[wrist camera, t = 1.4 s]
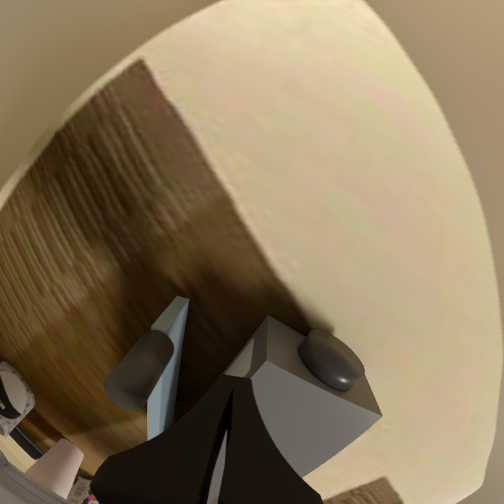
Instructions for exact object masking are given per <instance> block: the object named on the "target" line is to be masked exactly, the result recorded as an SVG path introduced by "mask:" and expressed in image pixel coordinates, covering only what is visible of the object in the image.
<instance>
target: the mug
mask: <svg viewBox="0 0 504 504" xmlns="http://www.w3.org/2000/svg"><path fill="white" fill-rule="evenodd" d="M35 404H36V401H35V397H34V394H33V392H32V390H31V388H30V387H29V385H28V384H27V382H26V381H25V379H24V378H23V377H22V376H21V374H20V373H19V372H18V371H17V370H16V369H15V368H14V367H13V366H12V365H10V364H9V363H7V362H4V361H2V362H1V363H0V435H1V436H3V437H6V436H7V435H8V434H9V433H10V432H11V431H12V430H13V429H14V428H15V427H16V426H17V424H18V423H19V422H20V421H21V420H22V419H23V418H24V417H25V416H26V415H27V414H28V413H29V412H30V411H31V409H32V408H33V407H34V406H35Z"/></svg>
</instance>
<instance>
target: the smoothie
mask: <svg viewBox="0 0 504 504" xmlns="http://www.w3.org/2000/svg"><path fill="white" fill-rule="evenodd" d="M83 457H84V455H83V453H82V451H81V450H80V449H79V448H78V447H77V446H76V445H74V444H73V443H71V442H70V441H68V440H66V439H63V438H62V439H60V440H59V441H58V442H57V443H56V444H55V445H54V446H53V447H51V448H50V449H49V450H48V451H47V452H46V453H45V454H44V455H43V456H42V457H41V458H40V459H39V460H38V461H37V462H36V463H35V464H34V465H32V466H31V467H30V468H29V469H28V470H27V471H26V472H25V474H26V475H28V476H29V477H30V478H32V479H33V480H35V481H36V482H38V483H39V484H41V485H43V486H44V487H46V488H47V489H49V490H51V491H52V492H54V493H56V494H57V495H59V496H61V497H63V498H64V499H67V497H68V494H69V491H70V489H71V486H72V484H73V481H74V479H75V476H76V474H77V471H78V469H79V467H80V464H81V462H82V460H83Z"/></svg>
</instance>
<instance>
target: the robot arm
mask: <svg viewBox="0 0 504 504" xmlns="http://www.w3.org/2000/svg"><path fill="white" fill-rule="evenodd" d="M226 430H227V437H226V451H225V465H224V471H223V476H222V481H221V486H220V492H219V497H215V496H212V495H210V494H209V491H210V486H211V481H212V476H213V472H214V469H215V465H216V462H217V459H218V456H219V453H220V450H221V447H222V443H223V440H224V437H225V434H226ZM89 487H90V489H91V491H92V493H93V495H94V496H95V498H96V499H97V501H98V502H99V504H323V501H322V499H321V496H320V494H318V493H317V492H316V491H315V490H314V489H313V488H311V487H310V486H309V485H308V484H307V483H306V482H305V481H304V480H303V479H302V478H301V477H300V476H299V475H298V474H297V473H296V472H295V470H294V469H293V468H292V467H291V465H290V464H289V463H288V462H287V460H286V459H285V458H284V457H283V455H282V454H281V452H280V451H279V449H278V448H277V446H276V445H275V443H274V441H273V440H272V438H271V436H270V434H269V432H268V430H267V428H266V426H265V424H264V422H263V419H262V417H261V414H260V411H259V409H258V406H257V403H256V399H255V395H254V391H253V385H252V380H251V379H250V378H244V377H238V376H232V375H226V374H219V375H218V376H217V378H216V380H215V382H214V383H213V385H212V386H211V387H210V389H209V390H208V391H207V392H206V394H205V395H204V396H203V397H202V398H201V399H200V401H199V402H198V403H197V404H196V405H195V406H194V407H193V408H192V409H191V410H190V411H189V412H188V413H187V414H185V415H184V416H183V417H182V418H181V419H180V420H178V421H177V422H176V423H175V424H173V425H172V426H171V427H169V428H168V429H166V430H165V431H163V432H162V433H160V434H159V435H157V436H155V437H154V438H152V439H150V440H148V441H146V442H144V443H142V444H140V445H138V446H136V447H134V448H131V449H129V450H126V451H123V452H121V453H118V454H115V455H112V456H109V457H108V458H107V459H106V460H105V461H104V462H103V463H102V465H101V466H100V467H99V468H98V470H97V471H96V473H95V475H94V477H93V479H92V480H91V482H90V485H89ZM0 504H73V503H72V502H70V501H68V500H66V499H64V498H63V497H61V496H59V495H57V494H56V493H54V492H52V491H51V490H49V489H47V488H46V487H44V486H43V485H41V484H39V483H38V482H36V481H35V480H33V479H32V478H30V477H29V476H28V475H26V474H25V473H23V472H22V471H20V470H19V469H18V468H16V467H15V466H14V465H12V464H11V463H10V462H8V461H7V459H6V457H5V456H4V454H3V453H2V452H1V451H0Z"/></svg>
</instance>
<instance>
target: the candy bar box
mask: <svg viewBox="0 0 504 504" xmlns="http://www.w3.org/2000/svg"><path fill="white" fill-rule="evenodd" d="M91 480H92V479H91V478H86V477H81V476H79V477H78V478H77V480H76V482H75V483H74V485H73V487H72V488H71V490H70V492H69V494H68V497H67V499H66V500H68V501H70V502H72V503H73V504H99V502H98V501H97V499H96V498H95V496H94V495H93V493H92V491H91V489H90V487H89V485H90V482H91Z"/></svg>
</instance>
